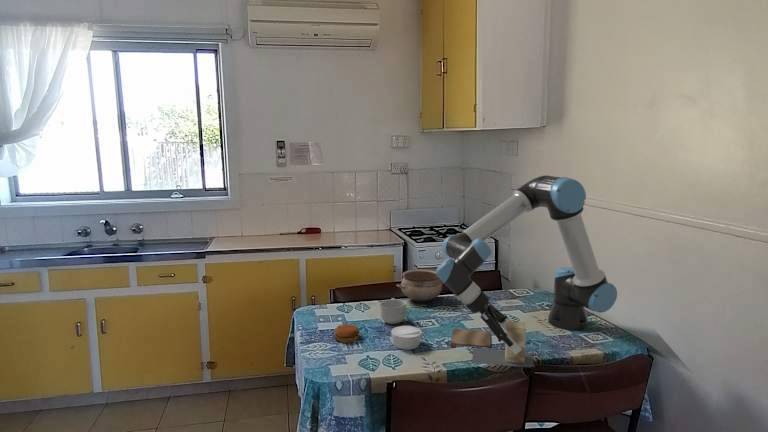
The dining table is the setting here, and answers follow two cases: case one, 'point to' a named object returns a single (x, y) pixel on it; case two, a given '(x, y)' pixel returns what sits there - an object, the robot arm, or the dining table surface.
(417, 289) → the cooking pot
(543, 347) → the dining table surface
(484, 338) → the walnut board
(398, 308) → the teacup
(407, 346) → the ramekin
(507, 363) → the mat
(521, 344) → the maple block
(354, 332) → the burger
